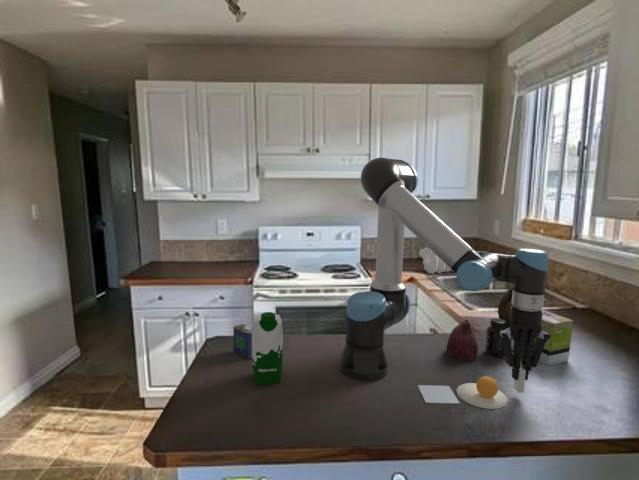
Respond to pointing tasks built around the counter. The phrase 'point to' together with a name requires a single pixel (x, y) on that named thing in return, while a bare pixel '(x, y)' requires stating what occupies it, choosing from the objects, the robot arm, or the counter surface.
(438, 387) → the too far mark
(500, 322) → the supplement bottle
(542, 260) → the robot arm
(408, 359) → the counter surface
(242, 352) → the flask
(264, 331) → the milk carton
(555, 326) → the tea box
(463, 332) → the vegetable
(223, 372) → the counter surface
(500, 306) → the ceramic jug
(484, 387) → the ball
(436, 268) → the white ribbed cylinder
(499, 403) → the disc
